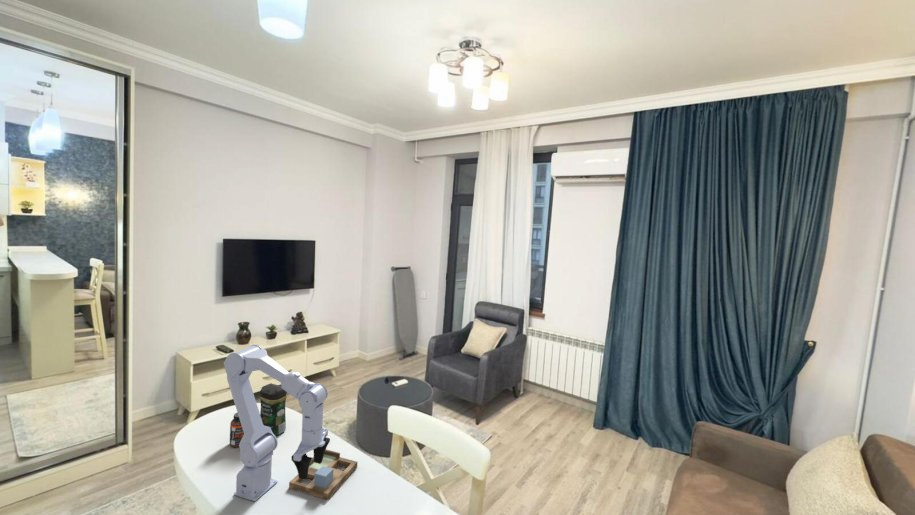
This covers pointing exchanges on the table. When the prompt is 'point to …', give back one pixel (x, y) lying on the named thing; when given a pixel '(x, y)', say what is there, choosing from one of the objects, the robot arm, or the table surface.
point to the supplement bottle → (236, 431)
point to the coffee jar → (273, 407)
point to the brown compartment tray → (339, 476)
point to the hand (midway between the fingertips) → (310, 470)
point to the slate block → (323, 477)
